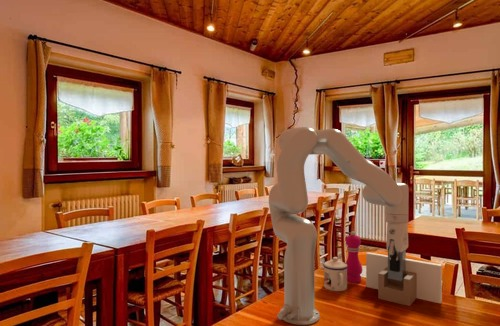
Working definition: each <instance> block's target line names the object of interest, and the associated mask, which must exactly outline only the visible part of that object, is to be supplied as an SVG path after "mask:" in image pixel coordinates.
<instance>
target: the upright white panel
mask: <svg viewBox="0 0 500 326" xmlns="http://www.w3.org/2000/svg"><path fill="white" fill-rule="evenodd" d="M365 257H366V258H365V260H366V261H365V262H366V263H365V267H366V268H365V270H366V271H365V272H366V273H365V277H366V278H365V279H366V281H365V282H366V283H365V285H366V288H369V289H370V288H371V289H375V290H378V291H377V292H378V293H377V295H378V296H377V297H378V299H379V300H382V301H383V300H384V301H387V302H392V303H395V304H400V305H403V306H408V307H409V306H411V305H412V304H413V303H414V302H415V300H416V299H418V300H423V301H428V302H432V303H436V304H442V301H443V297H442V295H443V291H442V290H443V287H442V286H443V264H441V263H435V262H430V261H424V260H423V261H422V260H416V259H410V258H406V277H405V278H403V281H398V280H393V279H389V278H388V254H387V255H386V254H383V253H382V254H380V253H374V252H366V253H365Z"/></svg>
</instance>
